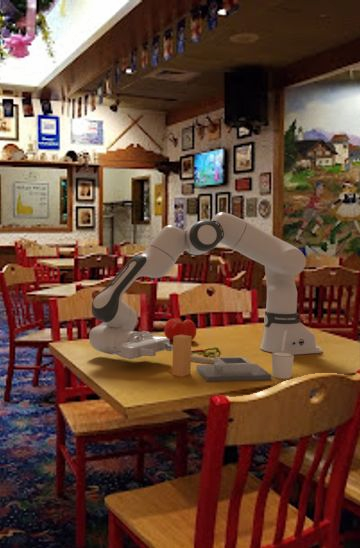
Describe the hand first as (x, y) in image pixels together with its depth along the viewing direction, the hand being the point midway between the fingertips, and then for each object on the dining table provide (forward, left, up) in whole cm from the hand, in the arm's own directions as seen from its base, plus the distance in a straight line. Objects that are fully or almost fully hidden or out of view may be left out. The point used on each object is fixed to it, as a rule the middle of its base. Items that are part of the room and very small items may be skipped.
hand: (163, 350), depth 202 cm
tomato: (-15, -43, -7) cm, 46 cm away
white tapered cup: (-36, +11, -7) cm, 38 cm away
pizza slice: (-19, -18, -7) cm, 27 cm away
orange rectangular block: (-5, +6, -6) cm, 10 cm away
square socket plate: (-21, +8, -6) cm, 23 cm away
